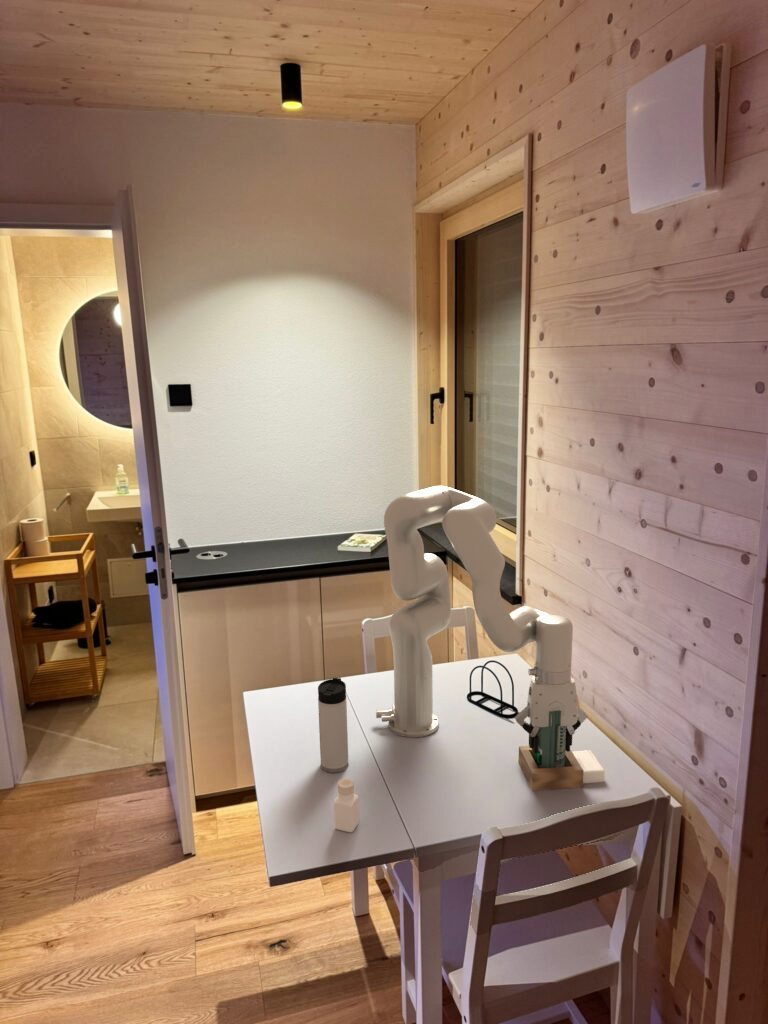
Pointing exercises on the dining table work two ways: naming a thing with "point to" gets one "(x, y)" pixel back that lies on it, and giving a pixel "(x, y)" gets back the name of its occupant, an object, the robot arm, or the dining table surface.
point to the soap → (589, 766)
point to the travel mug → (333, 725)
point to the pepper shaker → (346, 806)
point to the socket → (550, 772)
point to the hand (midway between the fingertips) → (550, 748)
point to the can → (551, 743)
